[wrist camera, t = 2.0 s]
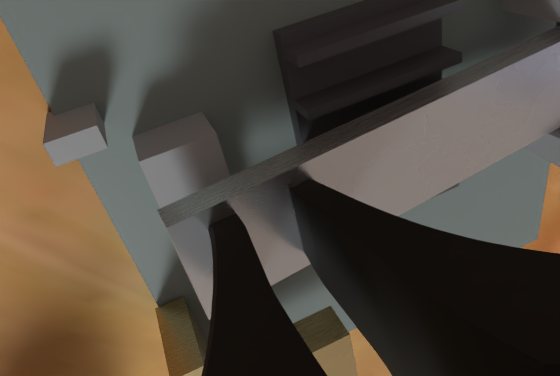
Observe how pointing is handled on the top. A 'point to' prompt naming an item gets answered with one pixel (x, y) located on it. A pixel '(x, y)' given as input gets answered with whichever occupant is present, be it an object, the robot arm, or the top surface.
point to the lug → (313, 329)
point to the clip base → (260, 105)
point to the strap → (380, 158)
